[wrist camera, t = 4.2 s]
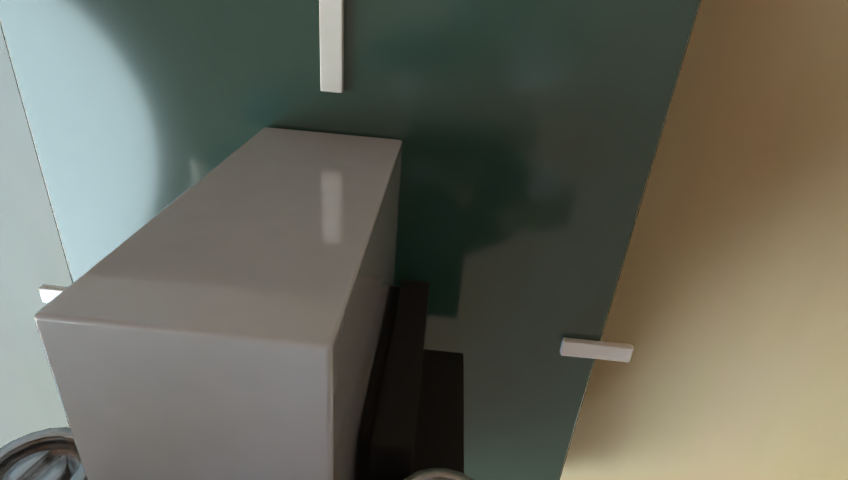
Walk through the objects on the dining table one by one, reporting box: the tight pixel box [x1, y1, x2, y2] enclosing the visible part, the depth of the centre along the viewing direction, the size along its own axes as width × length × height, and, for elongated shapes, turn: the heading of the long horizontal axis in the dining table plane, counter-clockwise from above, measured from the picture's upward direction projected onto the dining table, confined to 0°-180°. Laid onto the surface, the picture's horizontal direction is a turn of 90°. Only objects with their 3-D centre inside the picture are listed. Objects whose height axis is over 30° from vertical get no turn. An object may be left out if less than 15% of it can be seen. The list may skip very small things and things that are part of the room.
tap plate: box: [0, 0, 701, 480], centre depth 12 cm, size 15×12×3 cm
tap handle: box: [34, 127, 402, 480], centre depth 8 cm, size 8×2×6 cm, turn 176°
